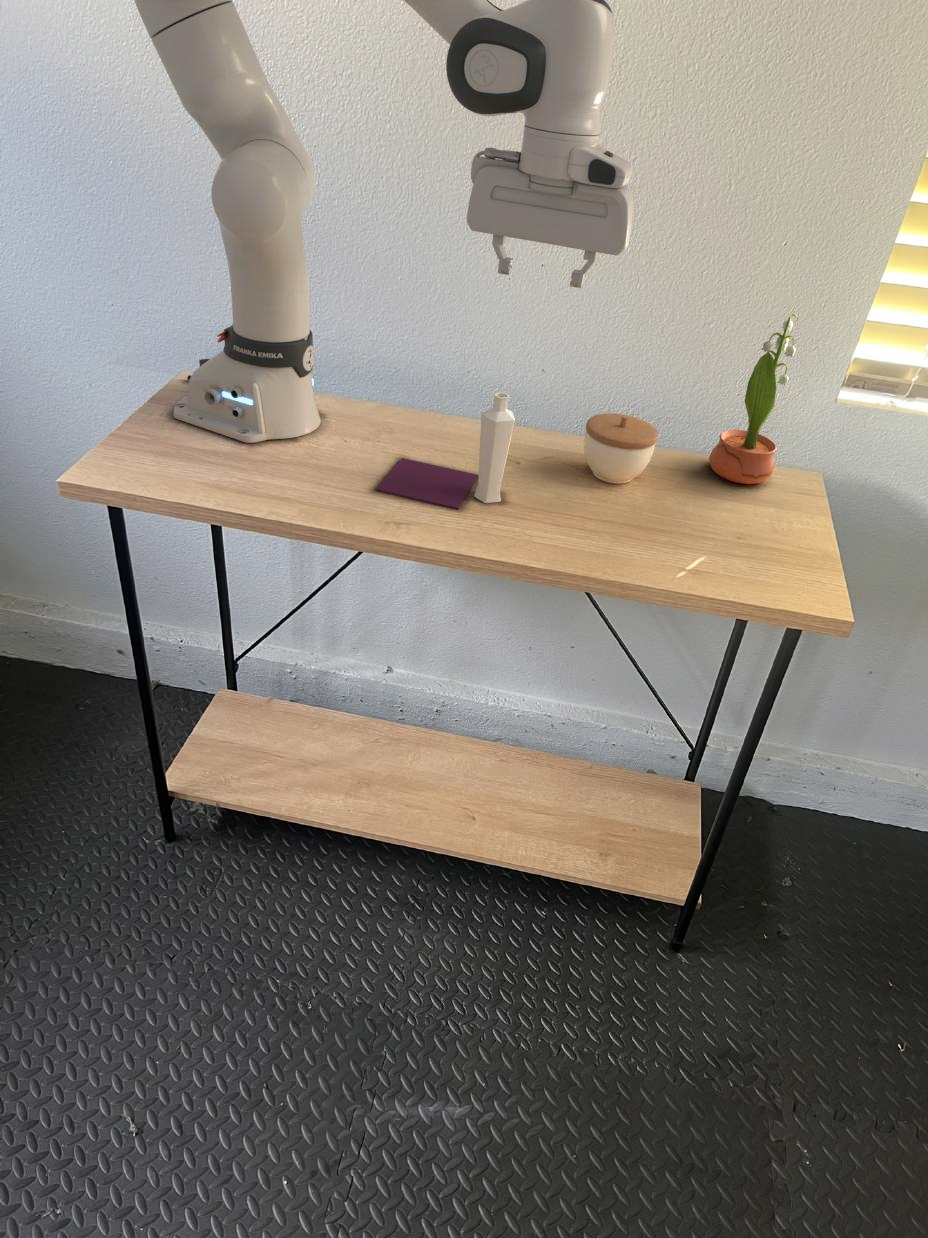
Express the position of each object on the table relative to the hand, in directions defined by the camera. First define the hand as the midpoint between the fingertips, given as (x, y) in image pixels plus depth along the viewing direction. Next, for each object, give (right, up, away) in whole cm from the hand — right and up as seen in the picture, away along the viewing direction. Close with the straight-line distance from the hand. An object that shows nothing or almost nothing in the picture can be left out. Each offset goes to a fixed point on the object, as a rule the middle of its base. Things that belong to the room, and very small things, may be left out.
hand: (540, 279), depth 108 cm
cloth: (-15, -24, +14) cm, 31 cm away
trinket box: (+13, -21, +23) cm, 34 cm away
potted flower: (+34, -20, +28) cm, 49 cm away
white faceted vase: (-6, -26, +12) cm, 29 cm away
